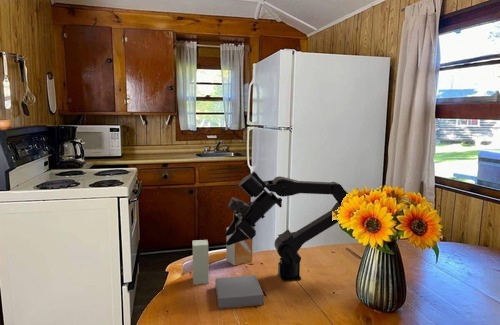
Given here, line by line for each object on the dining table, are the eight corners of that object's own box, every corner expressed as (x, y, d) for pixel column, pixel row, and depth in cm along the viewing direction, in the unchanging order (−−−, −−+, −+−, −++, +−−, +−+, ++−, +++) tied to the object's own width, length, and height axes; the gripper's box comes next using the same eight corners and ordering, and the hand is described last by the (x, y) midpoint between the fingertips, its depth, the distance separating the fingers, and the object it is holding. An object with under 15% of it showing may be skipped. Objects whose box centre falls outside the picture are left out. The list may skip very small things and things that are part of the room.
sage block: (207, 276, 119) (207, 239, 117) (208, 283, 114) (208, 244, 112) (193, 277, 118) (192, 240, 116) (193, 284, 113) (192, 245, 112)
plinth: (255, 284, 114) (255, 275, 113) (263, 304, 101) (263, 294, 100) (215, 287, 111) (215, 278, 111) (218, 308, 99) (218, 298, 98)
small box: (234, 266, 127) (234, 231, 126) (226, 260, 133) (225, 227, 131) (253, 261, 132) (253, 228, 130) (244, 256, 137) (244, 223, 136)
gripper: (241, 184, 123) (209, 215, 123) (245, 195, 105) (208, 232, 105) (262, 206, 125) (231, 236, 125) (271, 221, 106) (234, 256, 106)
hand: (226, 239), depth 115 cm, fingers open, 9 cm apart
